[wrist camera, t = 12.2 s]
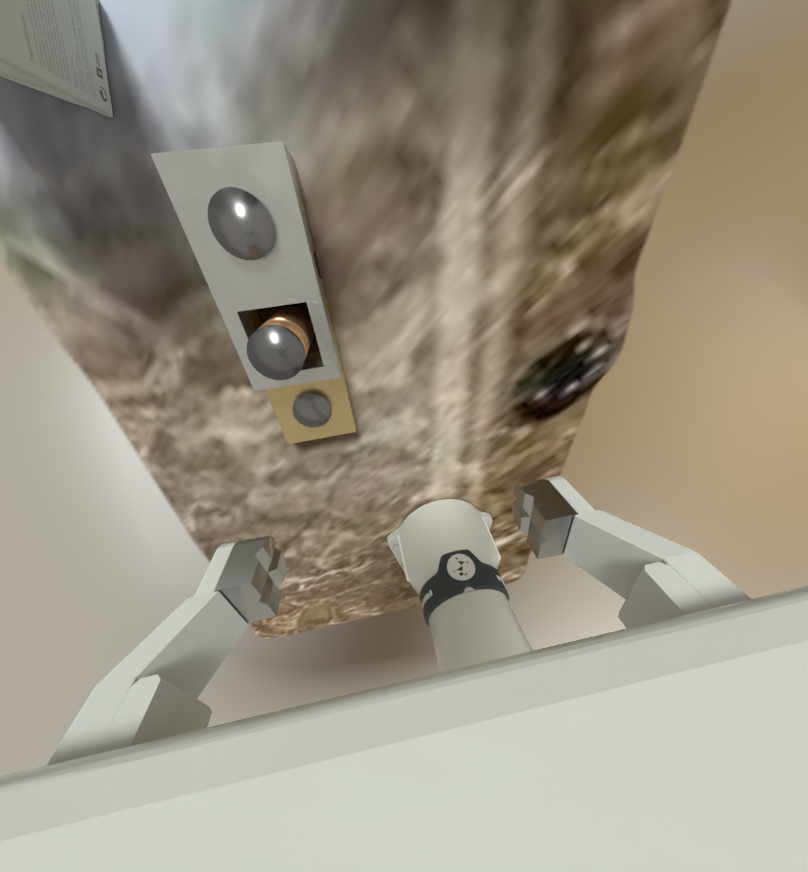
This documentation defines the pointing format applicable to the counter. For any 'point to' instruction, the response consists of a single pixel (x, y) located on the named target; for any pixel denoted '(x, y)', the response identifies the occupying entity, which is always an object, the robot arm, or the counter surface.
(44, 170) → the counter surface
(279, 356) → the pin
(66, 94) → the skincare box
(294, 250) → the chain joint
